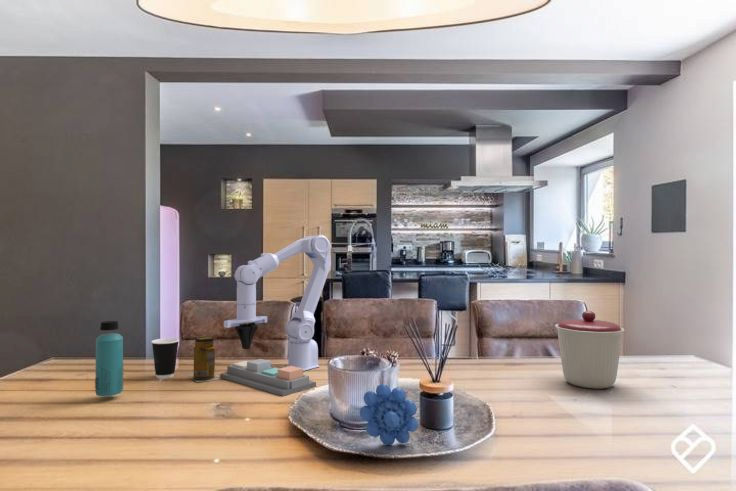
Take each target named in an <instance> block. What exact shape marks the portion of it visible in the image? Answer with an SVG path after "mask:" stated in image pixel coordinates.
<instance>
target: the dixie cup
mask: <svg viewBox="0 0 736 491" xmlns="http://www.w3.org/2000/svg"><path fill="white" fill-rule="evenodd" d="M179 342H180V339H179V338H178V337H177V338H176V337H175V338H173V337H166V338H157V339H153V340H151V341H150V343H151V345H152V355H153V362H154V372H155V376H156V378H157V379H160V380H161V379H163V380H164V379H170V378H174V376H175V375H174V374H175V372H176V364H177V356H178V350H179V348H178V347H179Z"/></svg>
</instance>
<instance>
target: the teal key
mask: <svg viewBox="0 0 736 491" xmlns="http://www.w3.org/2000/svg"><path fill="white" fill-rule="evenodd" d="M278 369H280V368H279V367H278V368H277V367H274V368H272V369H268V370H264V371H262V374H265V375H269V376H277V375H278Z"/></svg>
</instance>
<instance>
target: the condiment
mask: <svg viewBox="0 0 736 491" xmlns="http://www.w3.org/2000/svg"><path fill="white" fill-rule="evenodd" d="M214 339H215V338H214V337H212V336H199V337H196V338H195V341H194V342H195V343H194V348H193V375H189V376H187V377H188V378H189V379H190V380H193V381H194V382H196V383H204V382H210V381H218V380H221V379H222V378H220V376H217V375H215V372H216V371H215V370H216V369H215V367H216V366H215V365H216V357H215V355H216V347H215V346H214V344H215V343H214Z"/></svg>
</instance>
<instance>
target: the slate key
mask: <svg viewBox="0 0 736 491" xmlns="http://www.w3.org/2000/svg"><path fill="white" fill-rule="evenodd" d="M247 361H248V362H247V370H250V371H254V372H261V371H264V370H268V369H271V367H272V360H268V359H262V358H258V359H254V360H250V361H249V360H247Z"/></svg>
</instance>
